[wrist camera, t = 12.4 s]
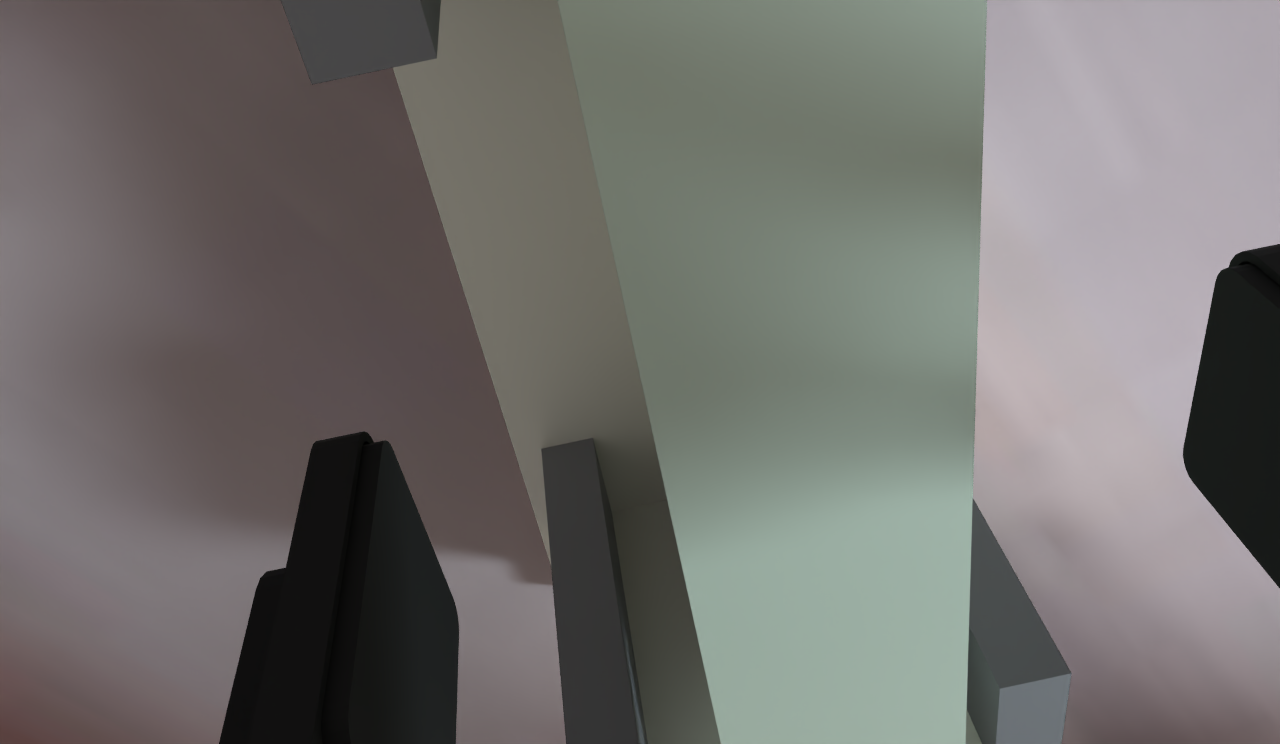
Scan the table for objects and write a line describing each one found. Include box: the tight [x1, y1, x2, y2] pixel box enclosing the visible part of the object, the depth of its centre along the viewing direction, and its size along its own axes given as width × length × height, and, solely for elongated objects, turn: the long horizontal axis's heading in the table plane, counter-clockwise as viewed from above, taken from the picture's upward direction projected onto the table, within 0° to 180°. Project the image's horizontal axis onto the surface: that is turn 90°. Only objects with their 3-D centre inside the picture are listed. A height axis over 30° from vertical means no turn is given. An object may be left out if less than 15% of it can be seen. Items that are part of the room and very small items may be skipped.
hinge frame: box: [281, 0, 1072, 744], centre depth 14 cm, size 8×20×8 cm, turn 9°
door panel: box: [557, 0, 987, 744], centre depth 14 cm, size 3×12×8 cm, turn 10°
